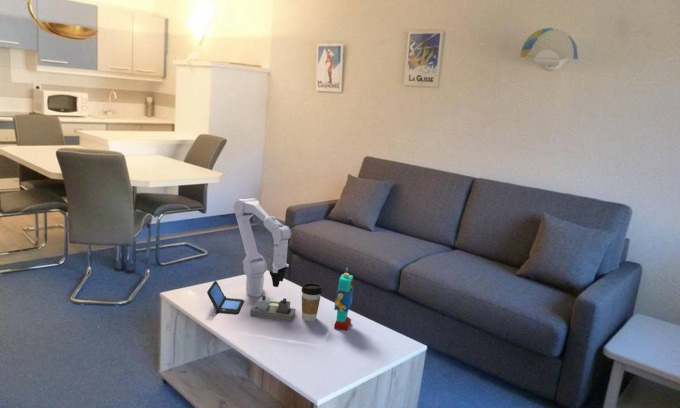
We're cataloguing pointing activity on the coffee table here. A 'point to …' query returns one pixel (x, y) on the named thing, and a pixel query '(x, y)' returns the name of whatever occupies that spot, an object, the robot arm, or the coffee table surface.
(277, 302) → the tray
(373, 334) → the coffee table surface
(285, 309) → the twin plug
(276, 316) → the power strip
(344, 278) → the toy robot
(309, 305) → the coffee cup
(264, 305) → the plug
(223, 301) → the handheld game console
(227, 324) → the coffee table surface
